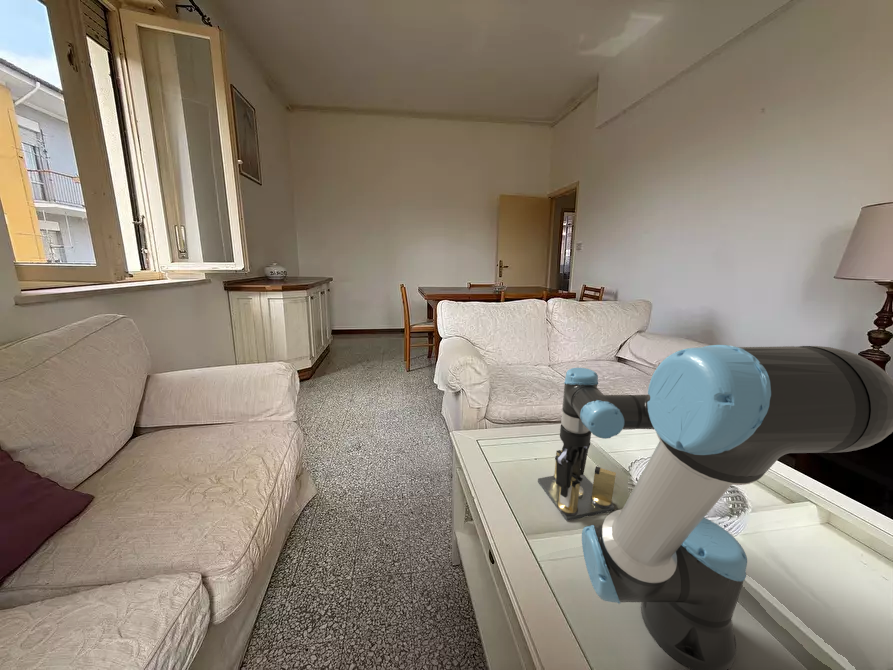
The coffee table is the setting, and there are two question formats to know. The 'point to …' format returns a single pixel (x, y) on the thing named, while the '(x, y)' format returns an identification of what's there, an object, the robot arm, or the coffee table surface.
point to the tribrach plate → (584, 500)
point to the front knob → (574, 498)
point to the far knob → (555, 463)
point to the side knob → (603, 486)
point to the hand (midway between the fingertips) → (567, 501)
